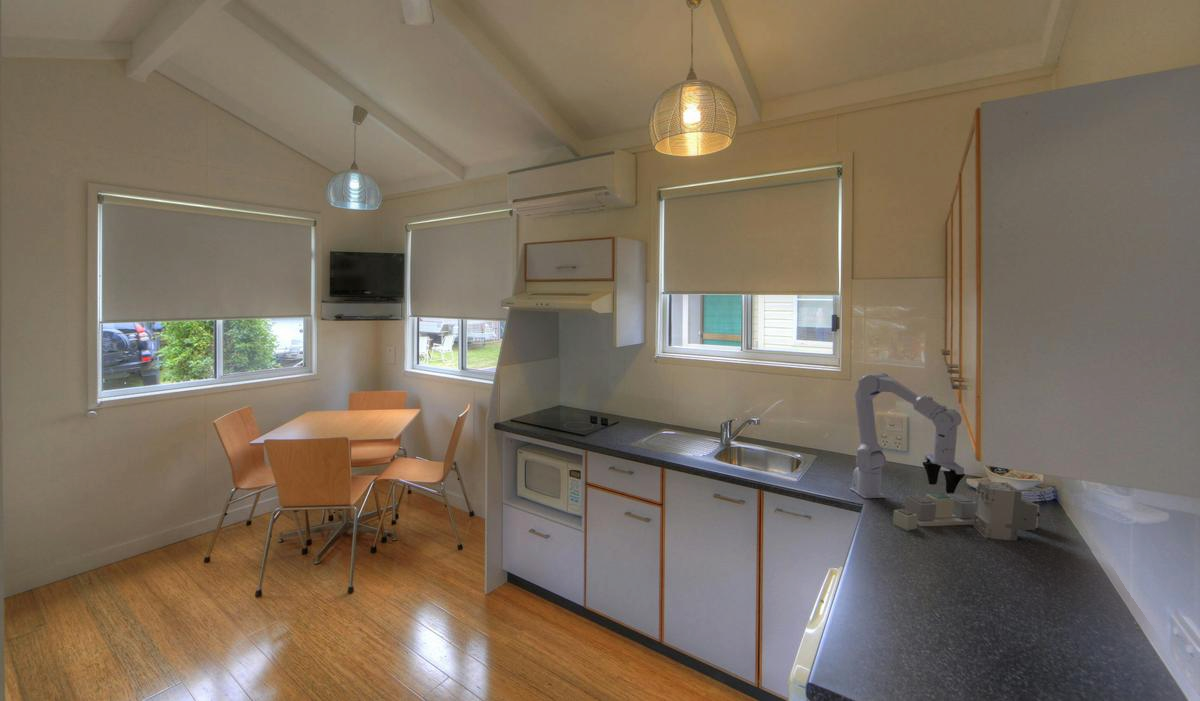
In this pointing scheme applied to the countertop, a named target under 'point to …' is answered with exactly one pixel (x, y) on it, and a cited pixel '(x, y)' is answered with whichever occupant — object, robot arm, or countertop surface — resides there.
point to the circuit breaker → (1003, 511)
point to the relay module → (942, 504)
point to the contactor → (905, 519)
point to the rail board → (926, 517)
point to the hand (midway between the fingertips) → (941, 488)
